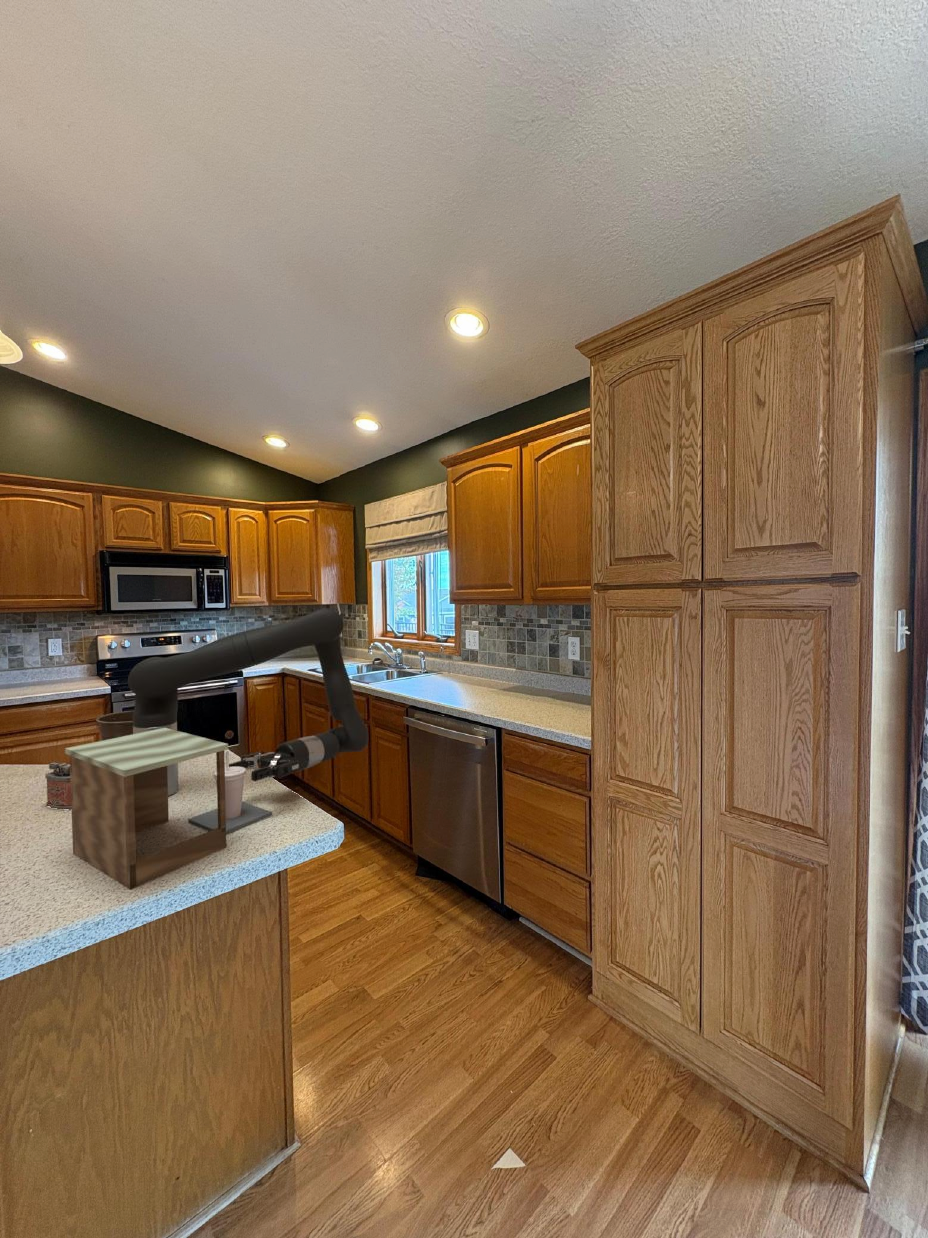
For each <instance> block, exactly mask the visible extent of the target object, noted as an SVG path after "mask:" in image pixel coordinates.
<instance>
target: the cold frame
mask: <svg viewBox="0 0 928 1238" xmlns="http://www.w3.org/2000/svg"><path fill="white" fill-rule="evenodd" d="M228 750H229V743H227V742H226V743H225V742H221V741H219V740H218V741H217V740H214V739H212V738H211V739H210V738H207V737H202V736H199V735H195V734H191V733H187V732H183V731H180V730H177V731H176V730H172V729H168V728H161V729H156V730H152V731H147V732H142V733H137V734H132V735H127V736H122V737H118V738H113V739H108V740H103V741H102V740H99V741H95V742H90V743H85V744H80V745H75V746H74V745H73V746H70V747H65V748H64V753H65V755H68V756H69V766H70V780H71V809H72V810H71V830H72V831H71V833H72V836H71V837H72V854H73V855H74V856H76V857H78V858H79V859H81V860H82V859H83V860H82V861H84V862H85V863H87V862H88V863H87V864H89V865H90V866H92V867H93V868H95V869H96V870H98V869H99V870H98V871H100V872H101V871H102V872H101V873H103V872H104V873H103V874H104V875H106V874H107V875H106V876H107V877H109V876H110V878H111V877H112V878H111V879H112V880H114V881H116V882H117V881H118V883H119V884H120V885H122V886H124V887H125V888H127V889H128V890H132V889H135V888H137V887H139V886H142V885H144V884H146V883H148V882H150V881H152V880H155V879H157V877H158V878H160V877H162V876H164V875H166V874H169V873H171V872H173V871H176V870H179V869H180V868H182V867H185V866H187V865H190V864H191V863H193V862H196V861H198V860H201V859H203V858H207V857H208V856H211V855H213V854H214V853H216V852H219V851H221V850H223V849H226V848H227V835H226V805H225V768H226V758H225V751H228ZM212 754H216V755H215V756H216V758H215V759H216V771H217V784H216V790H217V791H216V796H217V800H216V801H217V802H216V803H217V808H218V828H216V829H213V830H211V831H206V832H203V833H200V834H198V835H197V836H194V837H191V838H189V839H186V840H183V841H180V842H179V843H175V844H173V845H171V846H169V847H165V848H162V849H161V850H159V851H156V852H154V853H151V854H148V855H145V856H144V857H141V858H138V859H137V853H136V848H137V847H136V834H138V833H141V832H144V831H147V830H149V829H152V828H155V827H159V826H161V825H164V824H167V823H169V821H170V820H169V819H170V818H169V813H170V812H169V796H168V775H167V765H171V764H175V763H178V764H179V763H182V762H186V761H189V760H193V759H197V758H200V757H204V756H208V755H212ZM212 853H213V854H212Z"/></svg>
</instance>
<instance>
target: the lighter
mask: <svg viewBox="0 0 928 1238" xmlns="http://www.w3.org/2000/svg"><path fill="white" fill-rule="evenodd" d="M48 769H49V770H52V771H49V772H47V773H45V779H46V793H47V794H46V796H47V799H46V801H47V802H46V803H45V804H46V807H47V806H50V807H51V808H57V809H71V780H70V764H69V765H68V763H67V762H63V763H59V762H50V763H49V765H48ZM51 808H50V809H51Z"/></svg>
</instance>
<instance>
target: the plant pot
mask: <svg viewBox="0 0 928 1238" xmlns="http://www.w3.org/2000/svg"><path fill="white" fill-rule="evenodd" d="M133 713H134V710H125V711H118V712H112V713H107V714H105V715H100V716H98V717H97V718H96V719H95V720H96V723H98V728H99V734H100V735H101V739H102V740H101V741H103V740H108V739H113V738H118V737H122V736H127V735H132V734H133Z"/></svg>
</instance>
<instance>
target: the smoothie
mask: <svg viewBox="0 0 928 1238" xmlns="http://www.w3.org/2000/svg"><path fill="white" fill-rule="evenodd" d="M229 755H230V754H229V750H225V805H226V819H231V818H235V817H238V816H239V815H240V813H241V804H242V801H243V796H244V795H243V793H244V784H245V776H247V770H246V769H245V768H244V767H229V764H230V759H229V758H230V757H229ZM213 779H214V780H215V783H216V784H215V785H217V770H216V771H215V772H214V773H213Z"/></svg>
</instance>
